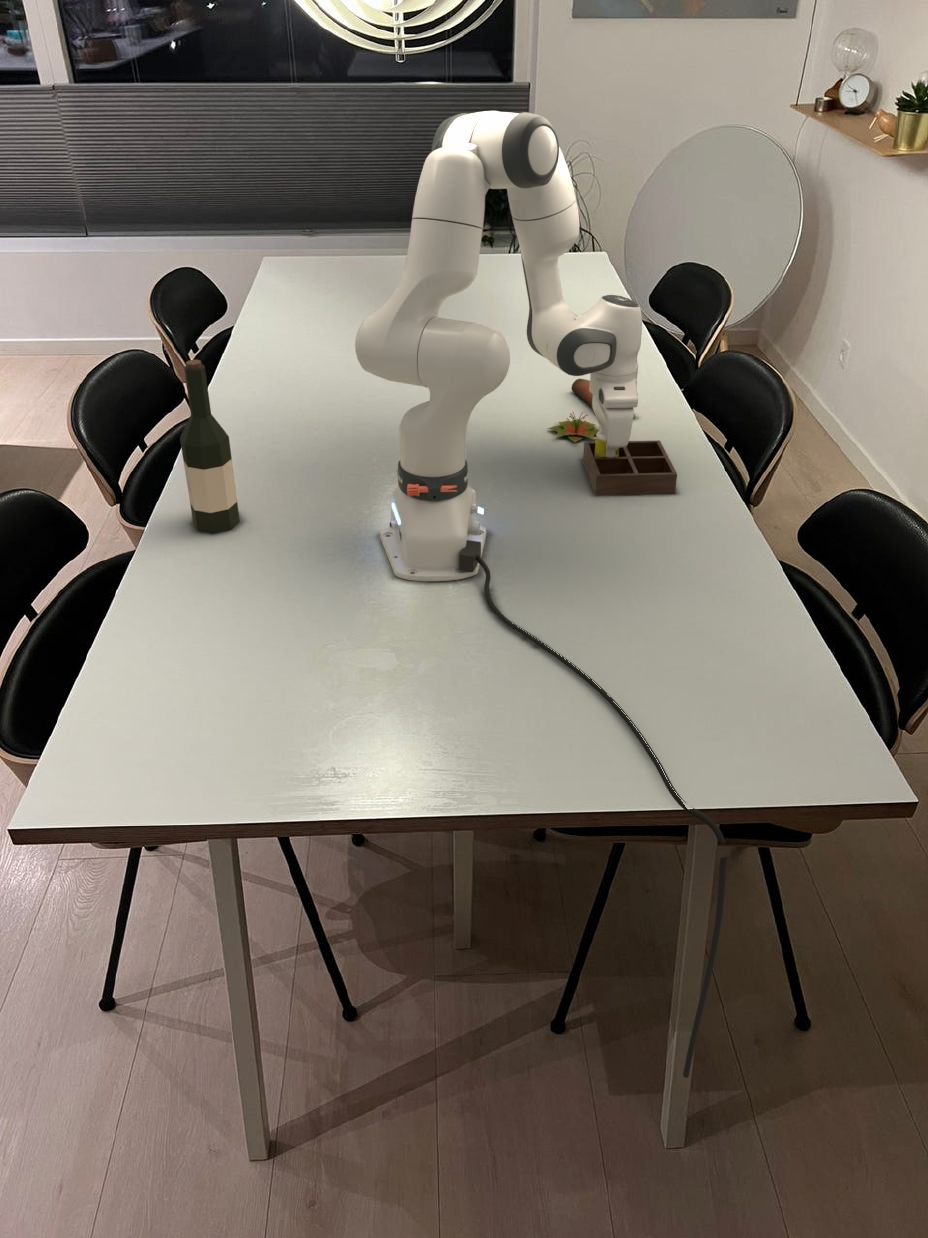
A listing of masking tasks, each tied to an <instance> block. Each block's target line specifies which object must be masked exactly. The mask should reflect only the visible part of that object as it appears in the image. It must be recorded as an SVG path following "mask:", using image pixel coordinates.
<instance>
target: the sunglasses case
mask: <svg viewBox="0 0 928 1238" xmlns="http://www.w3.org/2000/svg"><path fill="white" fill-rule="evenodd" d="M589 386H590V379H584V378H577V379H575V380H574V381H573V383H572V384H571V388H570V389H571V391H572V393H574V394H575V395H577V396H578V397H579V398H580V399H582V400H583V401H584V402H585V403H586V404H587V405H588V406H589V407H590V408H592V409H593V407H592V399H593V394H592V393H591V392H590V390H589ZM634 418H636V415H635V414H634V415H633V419H634Z"/></svg>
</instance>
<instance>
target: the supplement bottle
mask: <svg viewBox="0 0 928 1238" xmlns="http://www.w3.org/2000/svg"><path fill="white" fill-rule="evenodd" d="M598 429H599V432H598V433H597V434H595V442H596V445H595V455H594V457H606V455H605V446H606V444H607V441H606V439H605V436H604V434H603V432H602V429H601V426H600V423H599V422H598ZM618 455H619V448H616V451H615V457H618Z"/></svg>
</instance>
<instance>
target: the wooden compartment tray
mask: <svg viewBox="0 0 928 1238" xmlns="http://www.w3.org/2000/svg"><path fill="white" fill-rule="evenodd" d="M595 445H596V441H584V442H583V448H582V449H583V452H582V462H583V465H584V468H585V471H586V474H587V477H588V479H589V482H590V485H591V487H592V491H593V493H594V495H595V496H623V495H624V496H625V495H626V496H628V495H629V496H630V495H666V494H667V495H668V494H669V495H671V494H676V488H677V481H678V473H677V471H676V469H675V467H674V464H673V463H672V461H671V459H670V456H669V455H668V453H667V451H666V449H665V447H664V445H663V444H662V442H661V440H658V439H657V440H629V443H628V445H627V446H626V447H623V448H619V455H618V457H613V458H607V457H594V455H595Z"/></svg>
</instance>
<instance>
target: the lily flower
mask: <svg viewBox="0 0 928 1238" xmlns="http://www.w3.org/2000/svg"><path fill="white" fill-rule="evenodd" d="M583 413H584V411H582V413H580V415H579V417H578V418H576V415H575V412H574V411H572V413H571V412H570V413H569V418H571V420H570V419H569V418H568V417H566V420H563V421H558V425H554V426H551V427H546V429H547V430H552V431H555V432H557V433H556V436H555V438H560V437H563V436H567V438H568V439H569V440H570V441H572V442H573V443H574V444H576V442H578V441H580V440H582V439H584V438H588V439H590V440H593V441H596V437H595V435H597V433H598V432H599V428H595V426H597V424H595V423H593V422H590V421H587V420H584V419H585V418H586V417H587V416H588V414H585V415H583ZM582 415H583V416H582Z"/></svg>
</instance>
